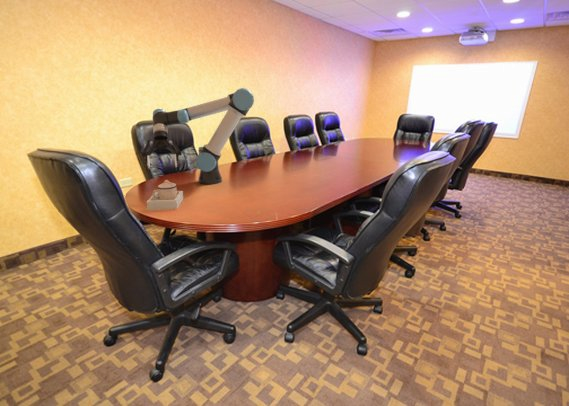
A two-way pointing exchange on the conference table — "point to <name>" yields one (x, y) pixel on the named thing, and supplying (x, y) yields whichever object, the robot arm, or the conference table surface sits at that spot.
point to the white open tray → (164, 202)
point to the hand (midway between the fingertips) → (162, 166)
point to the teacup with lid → (166, 191)
